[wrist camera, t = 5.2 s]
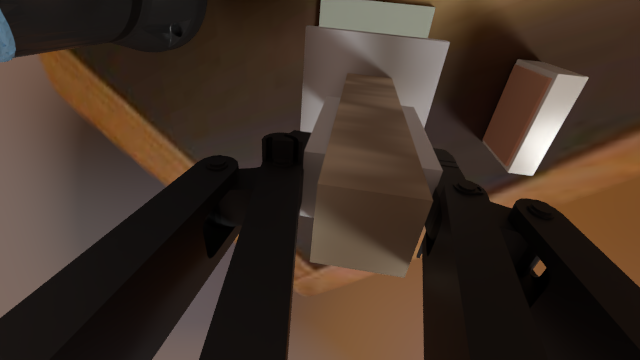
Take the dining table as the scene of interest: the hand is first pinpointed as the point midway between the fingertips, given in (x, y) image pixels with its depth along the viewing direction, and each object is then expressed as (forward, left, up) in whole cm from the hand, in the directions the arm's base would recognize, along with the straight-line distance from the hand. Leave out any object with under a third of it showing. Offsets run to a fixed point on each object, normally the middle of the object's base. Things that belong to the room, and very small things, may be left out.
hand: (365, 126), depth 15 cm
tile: (+18, -3, -22) cm, 28 cm away
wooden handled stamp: (0, 0, -7) cm, 7 cm away
